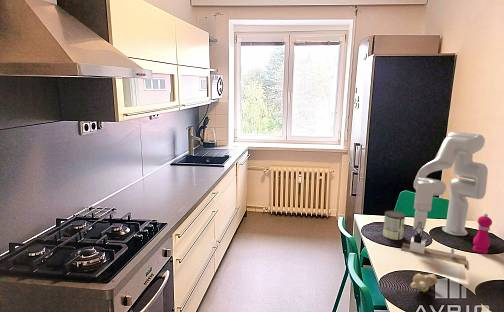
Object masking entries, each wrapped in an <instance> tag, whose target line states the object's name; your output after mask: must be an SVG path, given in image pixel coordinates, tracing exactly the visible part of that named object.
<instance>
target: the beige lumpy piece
mask: <svg viewBox="0 0 504 312" xmlns="http://www.w3.org/2000/svg"><path fill="white" fill-rule="evenodd" d="M437 283H438V278H437V276H436V274H435V273H429V274H421V273H416V274H414V276H413V277H412V282H411V283H410V285H409V286H410V287H411V288H412V289H418V290H419V291H422V293H425V292H428V291H429V289H430V287H432V286H433V285H435V284H437Z"/></svg>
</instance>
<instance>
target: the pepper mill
mask: <svg viewBox="0 0 504 312" xmlns="http://www.w3.org/2000/svg"><path fill="white" fill-rule="evenodd" d="M488 216H489V214H488V213H484V214H483V215H482V216H479V217H478V219H477V223H478V225H477V229H478V231H477V234H475V236H474V238H472V240H473V241H472V244H473V246H472V250H473V252H475V253H478V254H481V255H484V254H485V255H486V254H488V252H489V249H488V248H489V247H490V246H491V242H490V239H489V234H488V233H489V231H490V230H491V229H490V228H491V226H492V225H493V220H492V219H491V217H488Z"/></svg>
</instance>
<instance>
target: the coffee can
mask: <svg viewBox="0 0 504 312" xmlns="http://www.w3.org/2000/svg"><path fill="white" fill-rule="evenodd" d="M383 220H384V221H383V230H382V235H383V237H385V238H387V239H390V240H397V241H398V240H402V239H403V237H404V230H405V229H404V228H405V220H406V214H405V213H403V212H401V211H397V210H386V211H384V219H383Z"/></svg>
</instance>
